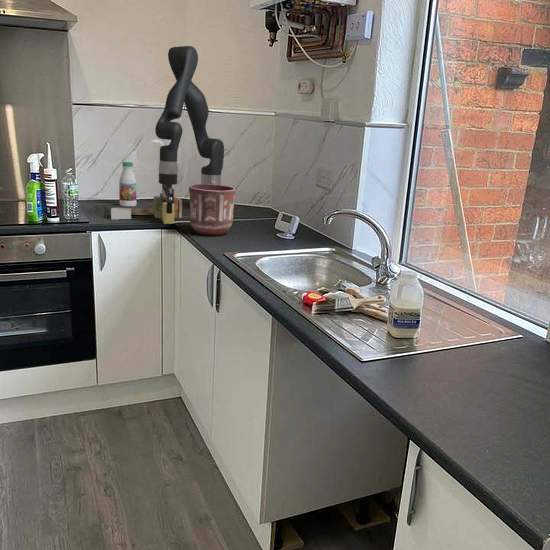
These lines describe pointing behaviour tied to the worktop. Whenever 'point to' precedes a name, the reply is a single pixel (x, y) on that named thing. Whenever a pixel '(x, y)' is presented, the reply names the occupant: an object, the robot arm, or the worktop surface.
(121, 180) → the milk bottle
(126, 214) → the off-white matte block
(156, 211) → the row of books
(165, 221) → the butter yellow brick
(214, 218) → the pottery
